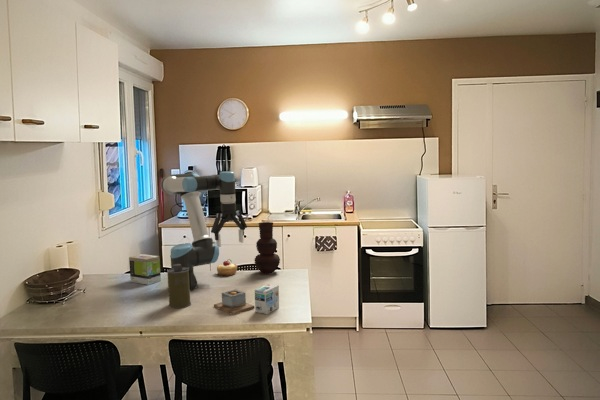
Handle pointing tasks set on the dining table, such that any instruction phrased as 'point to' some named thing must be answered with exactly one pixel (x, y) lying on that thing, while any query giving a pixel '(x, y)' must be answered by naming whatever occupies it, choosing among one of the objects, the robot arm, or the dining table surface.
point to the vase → (266, 249)
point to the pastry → (227, 268)
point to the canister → (179, 286)
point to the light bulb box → (266, 298)
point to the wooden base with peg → (235, 310)
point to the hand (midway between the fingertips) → (230, 244)
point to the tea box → (145, 269)
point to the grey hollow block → (233, 299)
